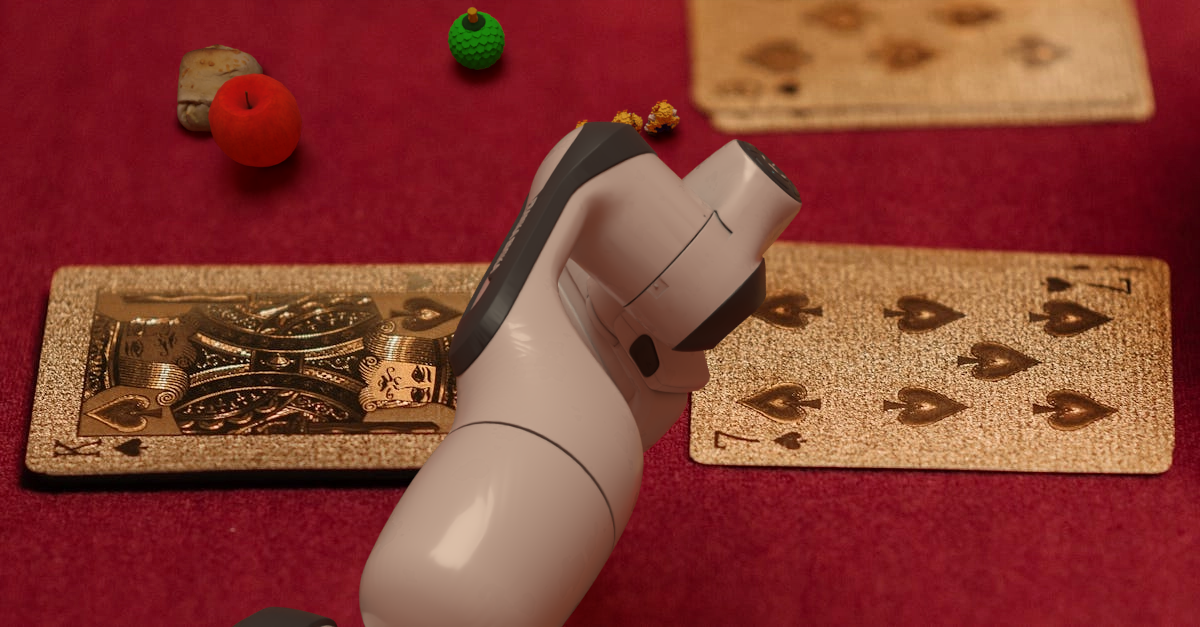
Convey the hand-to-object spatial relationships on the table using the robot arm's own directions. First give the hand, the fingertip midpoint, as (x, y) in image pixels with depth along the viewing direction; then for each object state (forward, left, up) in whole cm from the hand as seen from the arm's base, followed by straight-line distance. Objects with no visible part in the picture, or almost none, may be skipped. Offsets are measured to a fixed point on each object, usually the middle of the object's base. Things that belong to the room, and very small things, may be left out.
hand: (539, 395), depth 97 cm
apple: (+65, +13, -33) cm, 74 cm away
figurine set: (+45, -32, -33) cm, 64 cm away
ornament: (+68, -20, -33) cm, 78 cm away
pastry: (+78, +16, -33) cm, 86 cm away
